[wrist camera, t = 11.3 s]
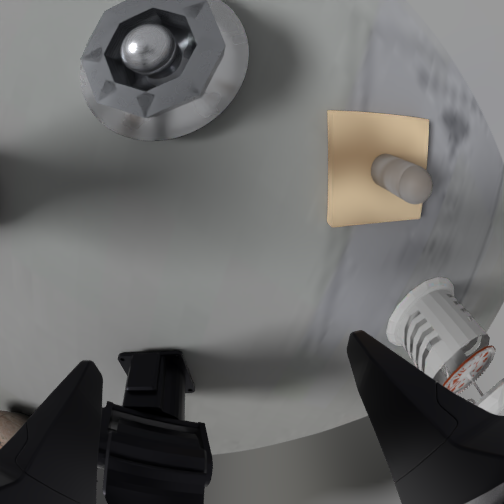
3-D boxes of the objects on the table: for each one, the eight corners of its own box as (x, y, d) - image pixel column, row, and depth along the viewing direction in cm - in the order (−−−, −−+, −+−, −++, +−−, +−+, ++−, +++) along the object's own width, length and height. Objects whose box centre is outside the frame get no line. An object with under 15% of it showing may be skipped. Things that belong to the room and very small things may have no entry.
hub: (251, 127, 17) (268, 135, 12) (99, 152, 16) (57, 172, 11) (240, -13, 12) (252, -55, 7) (88, 17, 11) (46, -7, 6)
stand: (413, 214, 21) (456, 245, 16) (327, 222, 20) (361, 261, 15) (420, 118, 17) (473, 129, 12) (327, 110, 16) (370, 114, 12)
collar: (187, 127, 15) (182, 131, 12) (89, 94, 13) (66, 94, 10) (239, 29, 12) (244, 14, 10) (136, -1, 10) (123, -19, 8)
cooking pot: (66, 411, 29) (50, 482, 19) (103, 457, 38) (97, 510, 27) (-37, 375, 25) (-58, 424, 15) (8, 428, 34) (-4, 470, 23)
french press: (458, 263, 24) (597, 431, 3) (447, 331, 30) (537, 473, 8) (384, 300, 25) (514, 526, 3) (386, 365, 31) (465, 531, 9)
